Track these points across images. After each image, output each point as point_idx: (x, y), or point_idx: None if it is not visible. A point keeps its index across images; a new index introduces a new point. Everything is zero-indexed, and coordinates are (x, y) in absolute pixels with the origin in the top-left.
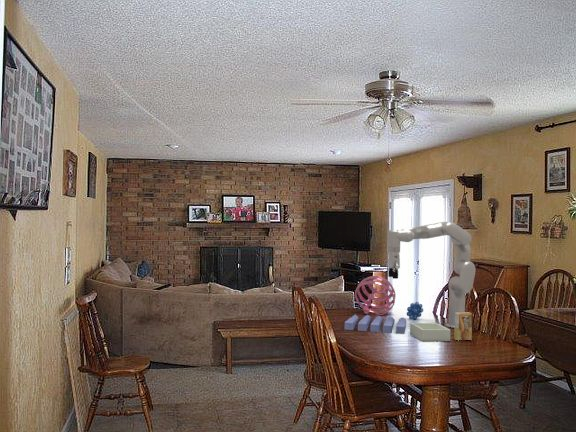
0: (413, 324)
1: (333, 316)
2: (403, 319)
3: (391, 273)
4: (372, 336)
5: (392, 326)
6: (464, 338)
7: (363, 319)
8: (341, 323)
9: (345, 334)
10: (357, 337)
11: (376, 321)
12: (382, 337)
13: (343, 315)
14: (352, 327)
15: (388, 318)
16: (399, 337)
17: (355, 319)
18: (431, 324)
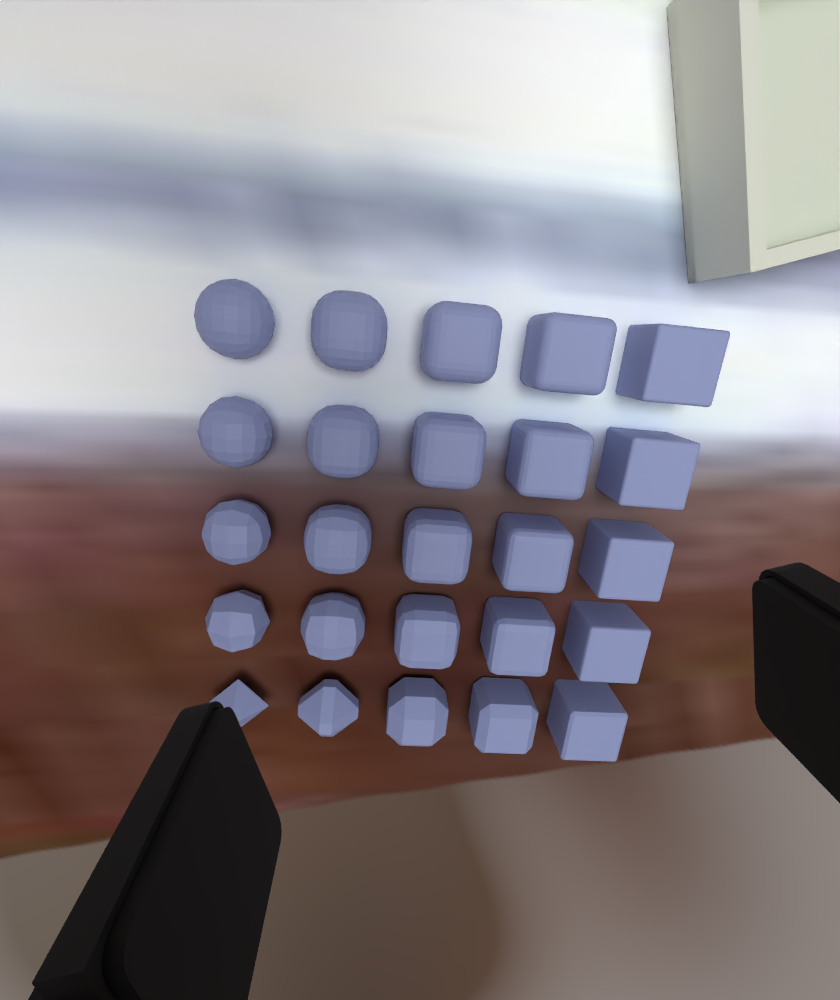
0: (836, 247)
1: None
2: (342, 317)
3: (219, 877)
4: (800, 560)
5: (577, 428)
6: None
7: (451, 656)
8: (388, 758)
9: (752, 708)
10: None
11: (533, 562)
12: (828, 497)
13: (40, 776)
14: (613, 694)
15: (335, 462)
16: (822, 379)
17: (430, 705)
18: (751, 19)
